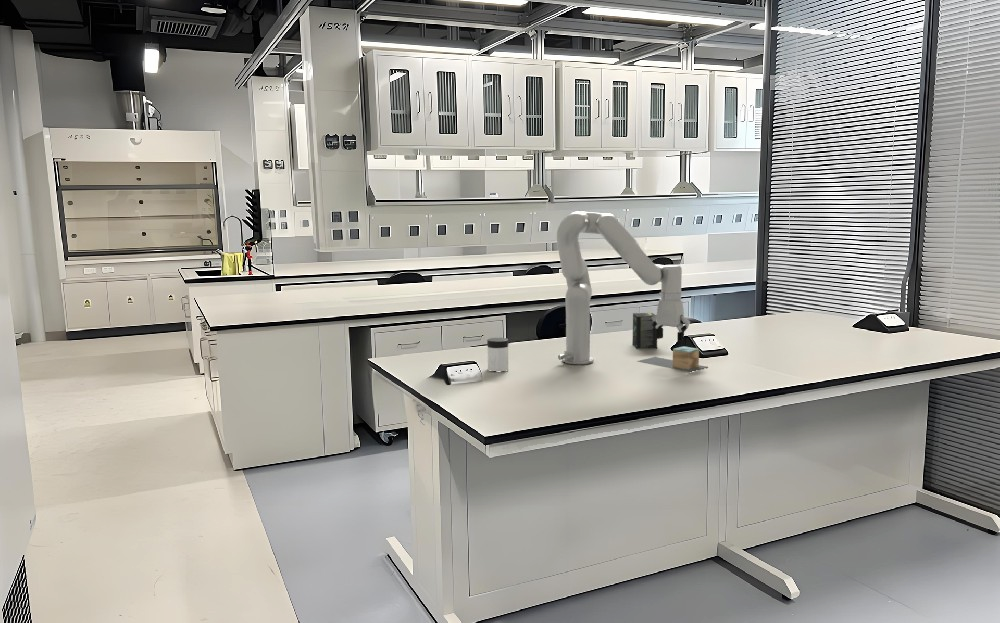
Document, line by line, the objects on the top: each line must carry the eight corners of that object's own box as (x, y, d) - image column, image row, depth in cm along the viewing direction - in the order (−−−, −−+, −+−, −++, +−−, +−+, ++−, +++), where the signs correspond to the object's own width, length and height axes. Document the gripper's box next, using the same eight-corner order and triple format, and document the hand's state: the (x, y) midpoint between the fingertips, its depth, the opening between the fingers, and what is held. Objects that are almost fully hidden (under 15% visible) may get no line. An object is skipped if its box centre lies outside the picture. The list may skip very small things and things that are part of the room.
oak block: (672, 348, 268) (672, 366, 269) (688, 351, 263) (687, 369, 264) (683, 346, 273) (683, 363, 274) (699, 348, 267) (698, 366, 268)
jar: (482, 371, 268) (482, 340, 266) (493, 366, 275) (492, 336, 273) (503, 373, 263) (502, 342, 262) (513, 369, 270) (513, 338, 269)
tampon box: (657, 349, 304) (658, 316, 302) (636, 349, 304) (636, 316, 302) (652, 344, 315) (653, 312, 313) (632, 344, 315) (632, 312, 313)
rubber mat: (689, 372, 261) (689, 371, 260) (636, 362, 279) (636, 361, 279) (707, 367, 268) (707, 366, 268) (654, 357, 287) (654, 356, 287)
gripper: (647, 295, 275) (646, 338, 277) (684, 299, 262) (683, 344, 264) (658, 294, 279) (657, 335, 282) (695, 297, 266) (694, 341, 269)
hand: (670, 340), depth 273 cm, fingers open, 9 cm apart
